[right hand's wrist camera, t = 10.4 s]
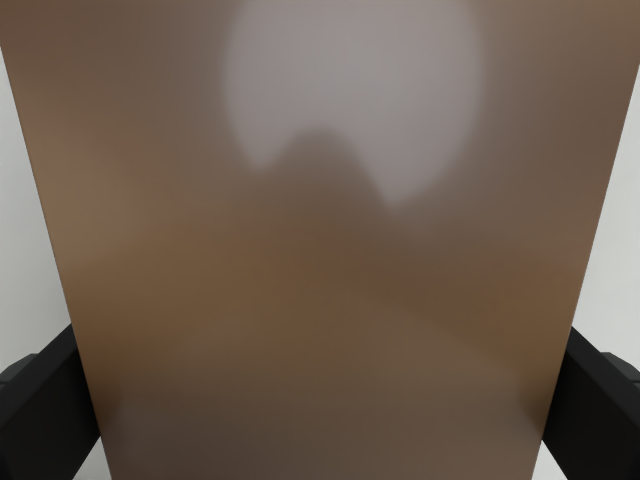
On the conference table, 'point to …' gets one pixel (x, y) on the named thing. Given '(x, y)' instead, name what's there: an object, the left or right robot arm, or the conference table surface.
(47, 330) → the conference table surface
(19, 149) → the conference table surface
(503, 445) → the cabinet
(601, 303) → the conference table surface
